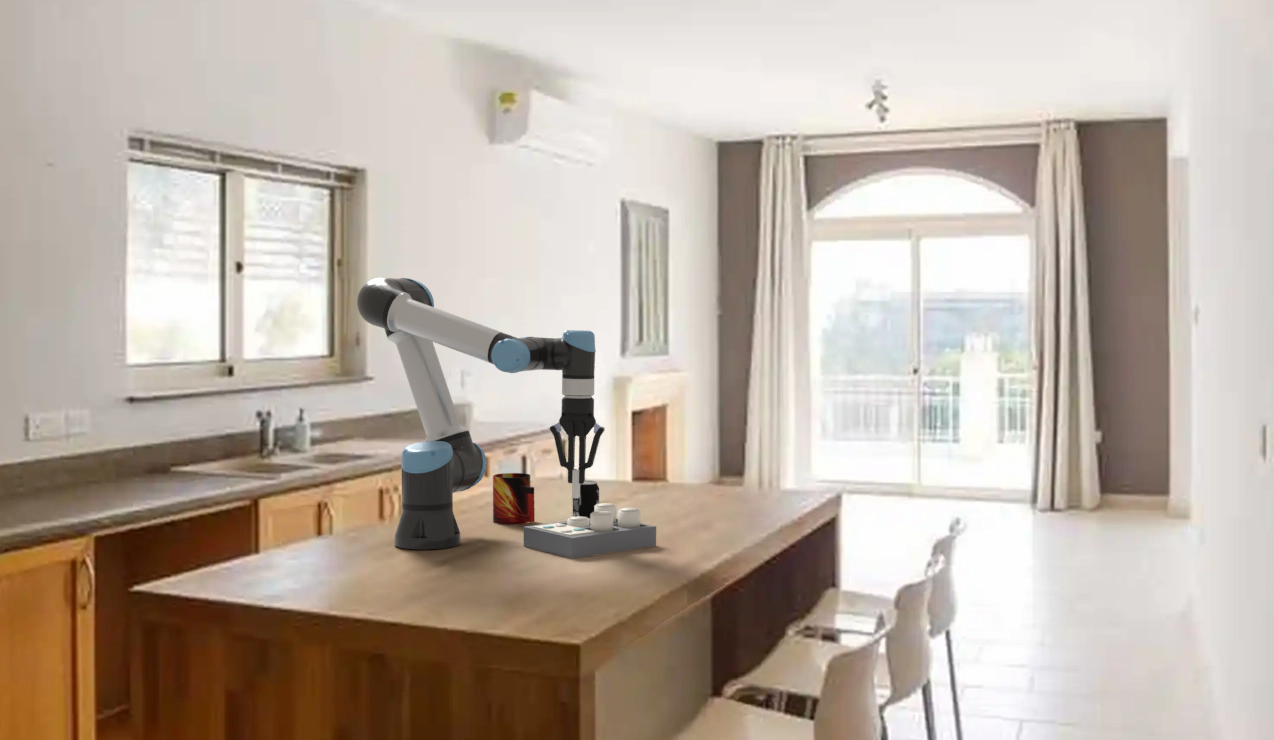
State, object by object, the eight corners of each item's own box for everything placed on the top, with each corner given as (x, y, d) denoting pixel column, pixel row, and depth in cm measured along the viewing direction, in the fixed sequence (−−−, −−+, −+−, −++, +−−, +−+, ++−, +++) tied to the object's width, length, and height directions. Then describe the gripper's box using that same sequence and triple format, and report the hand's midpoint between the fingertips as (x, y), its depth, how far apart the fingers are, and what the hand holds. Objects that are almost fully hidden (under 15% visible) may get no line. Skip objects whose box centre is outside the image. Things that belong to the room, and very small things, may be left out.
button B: (603, 529, 299) (603, 506, 299) (590, 526, 303) (589, 504, 303) (620, 526, 302) (620, 504, 302) (607, 524, 306) (607, 502, 306)
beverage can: (595, 532, 311) (595, 484, 311) (569, 532, 313) (569, 483, 312) (601, 528, 318) (601, 480, 317) (576, 527, 319) (576, 479, 318)
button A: (575, 543, 294) (575, 520, 294) (562, 540, 298) (562, 517, 298) (593, 540, 297) (593, 518, 297) (580, 537, 301) (580, 515, 301)
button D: (627, 534, 292) (627, 511, 292) (613, 531, 296) (613, 508, 296) (644, 532, 295) (644, 509, 295) (630, 529, 299) (630, 506, 299)
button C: (599, 538, 287) (599, 515, 286) (585, 535, 291) (585, 512, 291) (617, 535, 290) (617, 512, 290) (603, 532, 294) (603, 510, 294)
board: (572, 558, 279) (572, 535, 279) (523, 546, 294) (523, 524, 294) (656, 545, 294) (656, 524, 294) (605, 534, 309) (605, 514, 309)
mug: (532, 527, 320) (532, 479, 319) (485, 523, 326) (485, 476, 325) (551, 521, 329) (551, 475, 328) (505, 517, 335) (505, 472, 334)
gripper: (607, 396, 299) (605, 496, 300) (553, 394, 300) (551, 493, 302) (603, 398, 292) (601, 500, 293) (547, 396, 293) (545, 498, 294)
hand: (575, 497), depth 297 cm, fingers closed
